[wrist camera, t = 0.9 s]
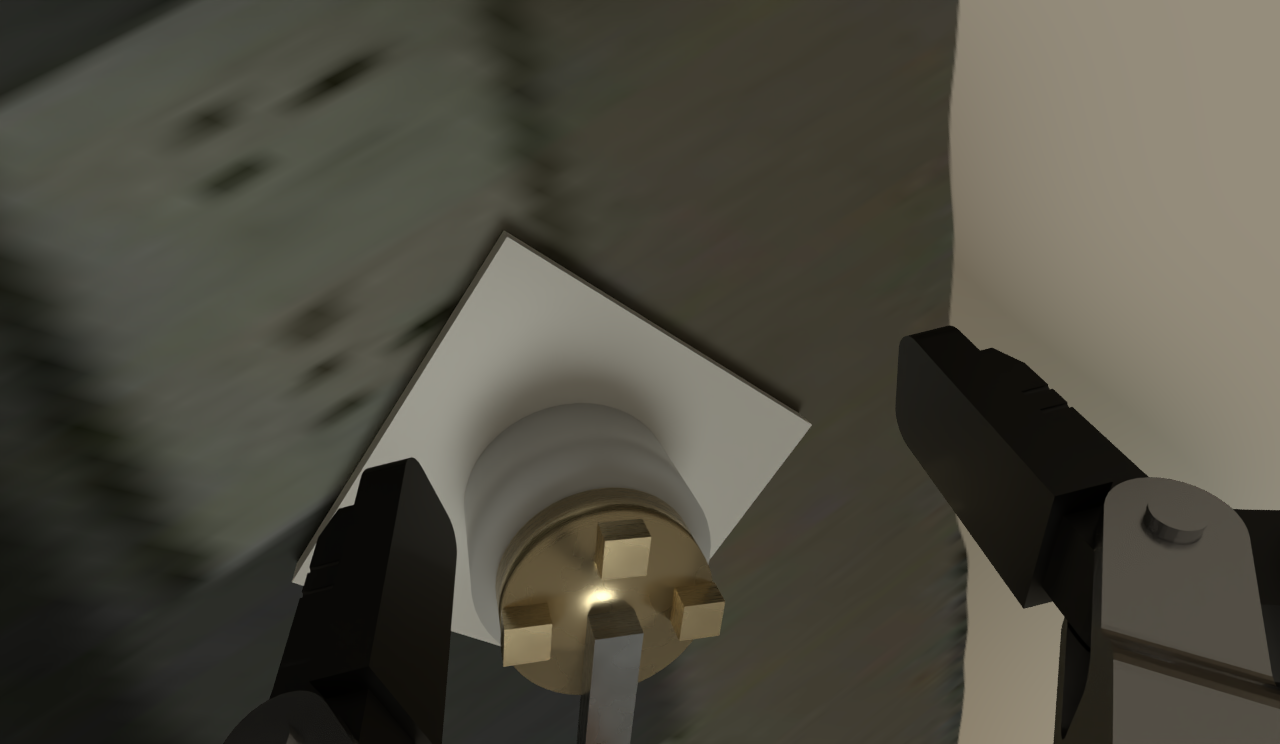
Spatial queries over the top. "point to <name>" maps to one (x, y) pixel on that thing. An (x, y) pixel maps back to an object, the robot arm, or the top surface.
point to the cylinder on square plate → (568, 420)
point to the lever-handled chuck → (603, 601)
